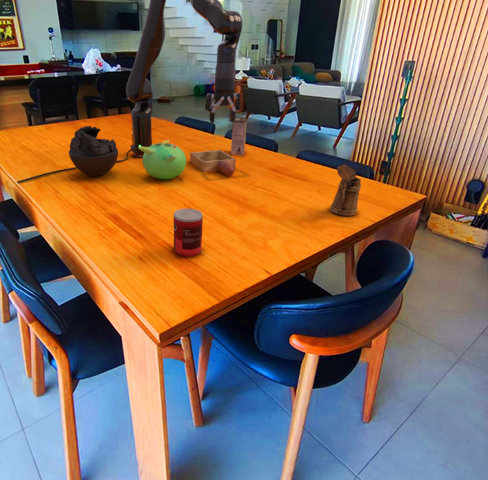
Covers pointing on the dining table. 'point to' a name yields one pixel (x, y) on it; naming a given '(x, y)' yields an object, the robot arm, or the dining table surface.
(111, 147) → the coal bowl
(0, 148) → the dining table surface
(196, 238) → the canned food
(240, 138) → the coffee box
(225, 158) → the brown wooden tray
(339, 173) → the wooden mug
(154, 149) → the toy bird
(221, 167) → the sweet potato
